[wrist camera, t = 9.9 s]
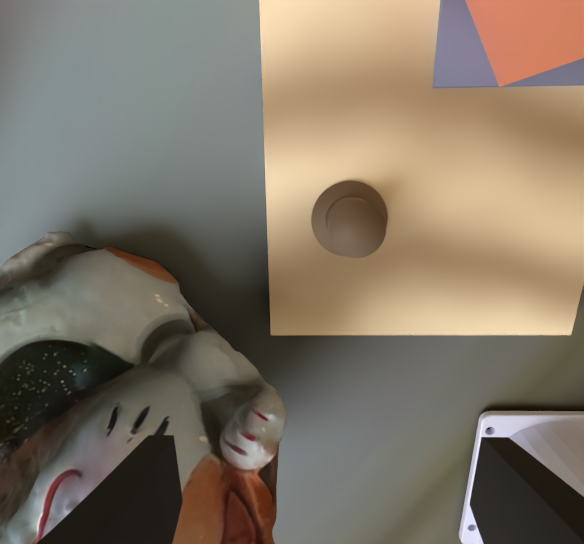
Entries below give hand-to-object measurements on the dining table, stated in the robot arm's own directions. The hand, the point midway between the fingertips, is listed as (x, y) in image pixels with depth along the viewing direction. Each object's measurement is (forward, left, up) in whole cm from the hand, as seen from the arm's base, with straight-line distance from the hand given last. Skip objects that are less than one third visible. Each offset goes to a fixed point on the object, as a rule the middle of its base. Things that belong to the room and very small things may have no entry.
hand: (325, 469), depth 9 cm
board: (+9, -5, -10) cm, 14 cm away
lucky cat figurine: (-3, +9, -10) cm, 14 cm away
